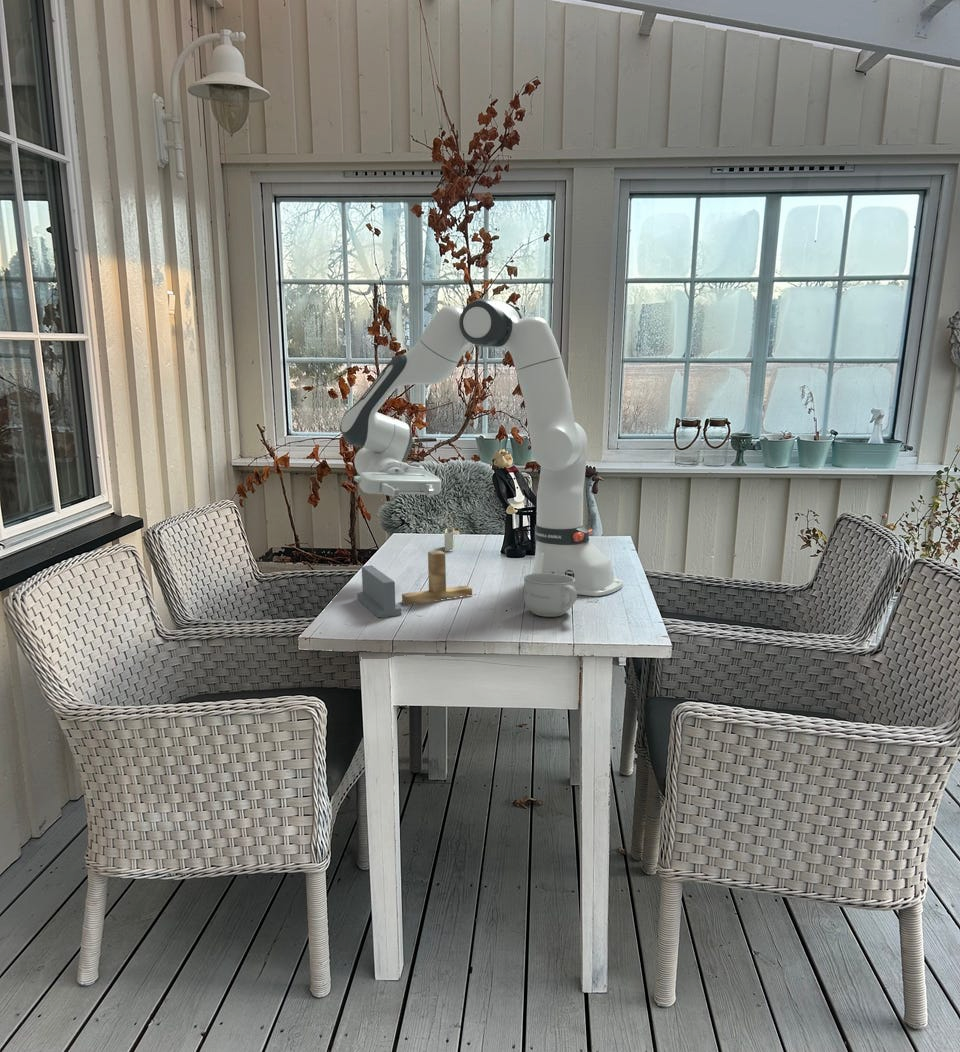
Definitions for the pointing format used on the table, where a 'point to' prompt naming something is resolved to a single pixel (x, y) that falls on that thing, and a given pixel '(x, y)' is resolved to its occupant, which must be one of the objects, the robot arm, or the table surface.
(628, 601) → the table surface
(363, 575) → the ridge
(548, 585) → the teacup
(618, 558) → the table surface
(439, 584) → the wooden t-shaped post
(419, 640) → the table surface
